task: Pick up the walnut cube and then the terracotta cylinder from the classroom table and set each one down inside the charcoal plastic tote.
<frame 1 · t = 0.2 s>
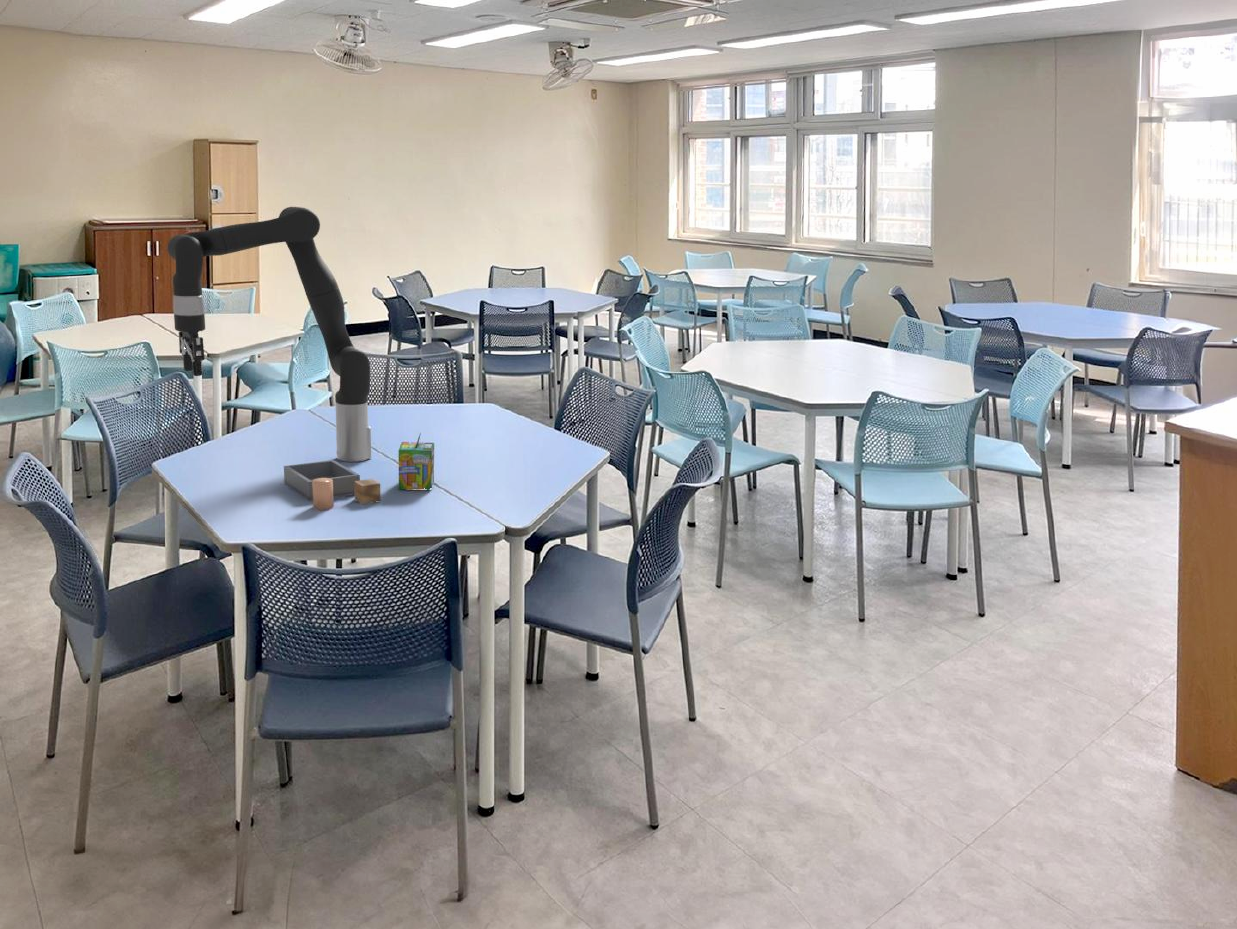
hand: (193, 373, 285), 29 cm above the table, tool pointing down, fingers open, 8 cm apart
charcoal tote: (321, 488, 287), on the table
walnut cube: (367, 500, 278), on the table
terracotta cylinder: (323, 507, 271), on the table
juice box: (416, 487, 293), on the table
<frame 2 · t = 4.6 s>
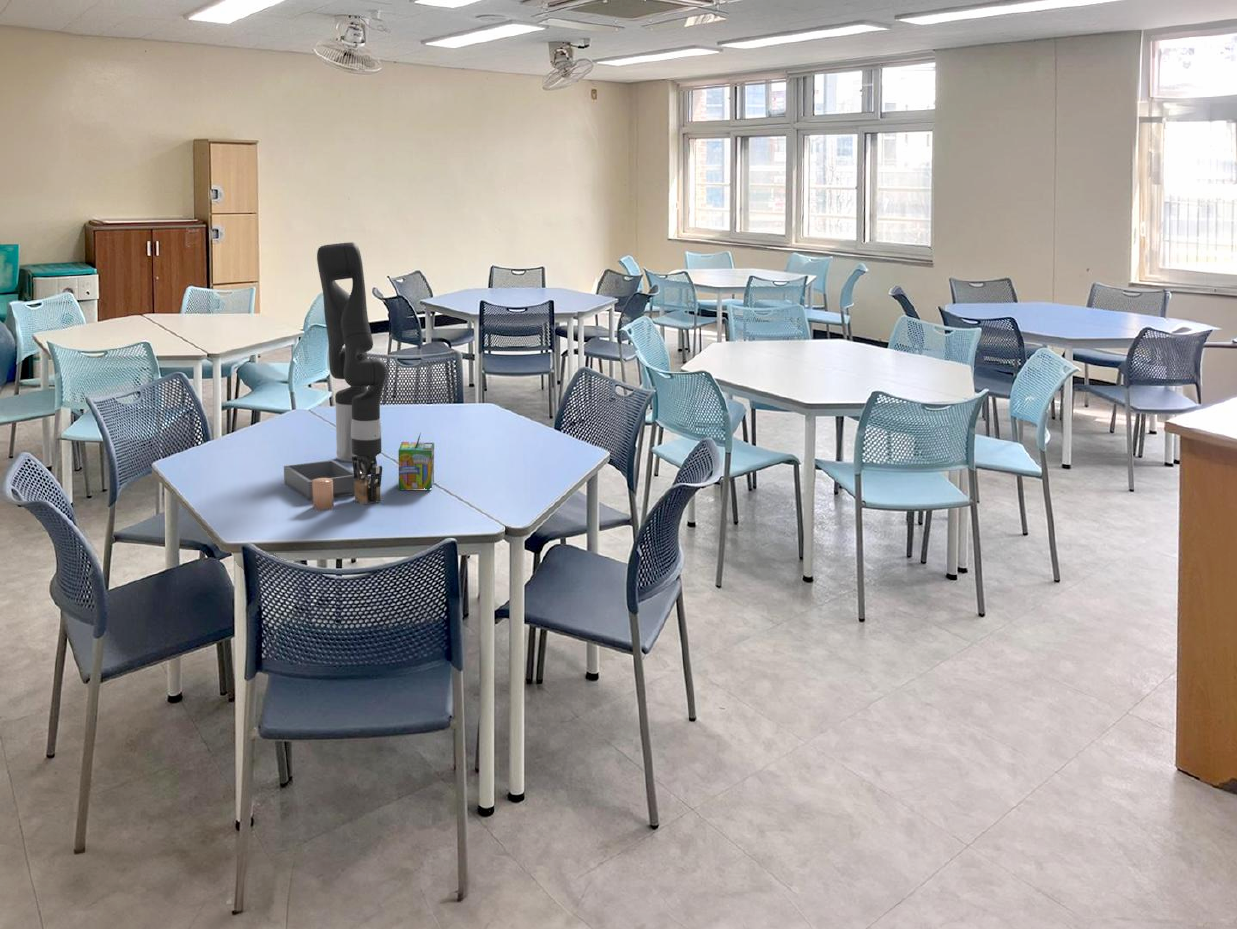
hand: (367, 498, 278), 0 cm above the table, tool pointing down, fingers closed on walnut cube, 5 cm apart
walnut cube: (367, 500, 278), on the table, touching gripper
everything else where it was.
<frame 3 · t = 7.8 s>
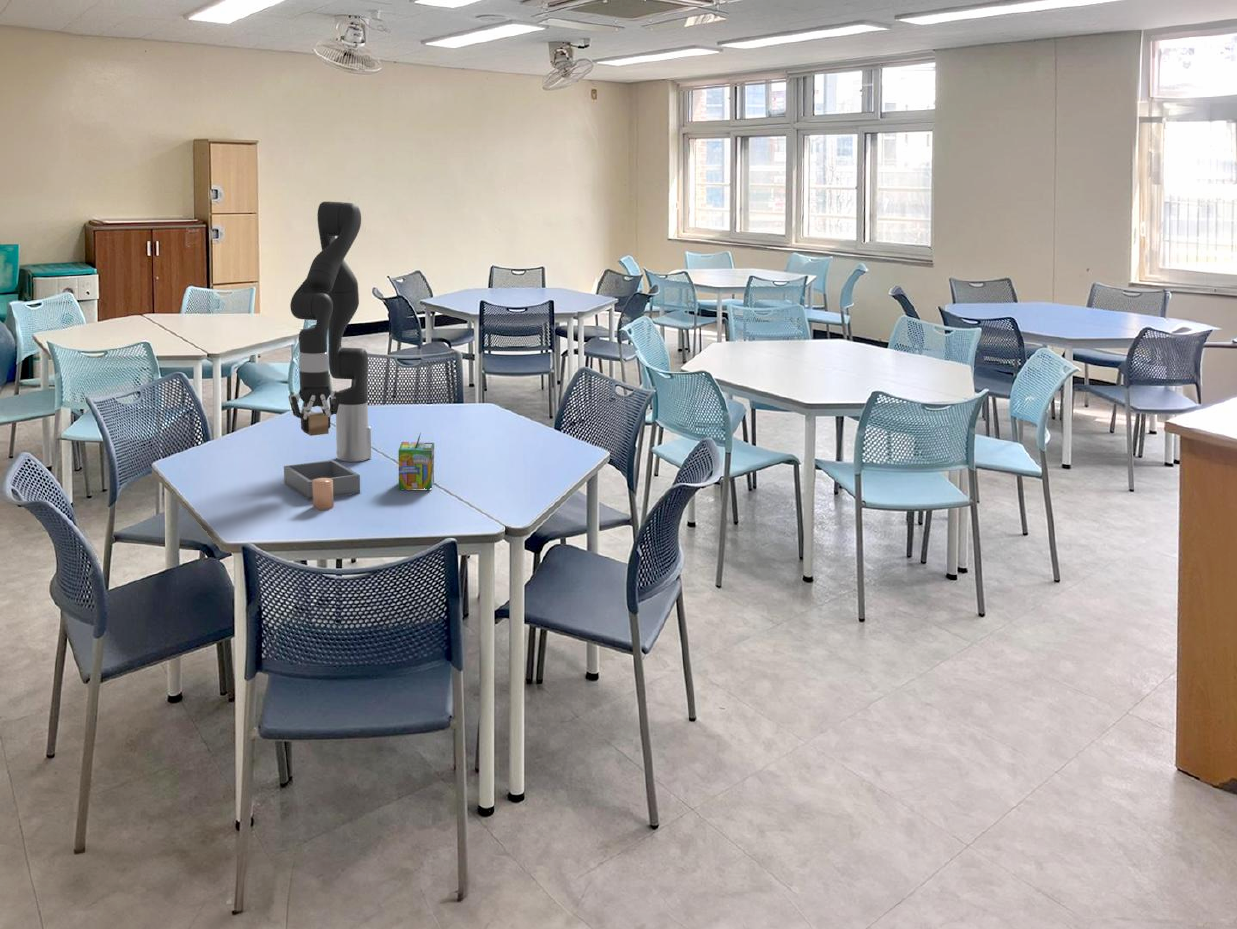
hand: (316, 430, 286), 15 cm above the table, tool pointing down, fingers closed on walnut cube, 5 cm apart
walnut cube: (316, 432, 286), point 15 cm above the table, touching gripper
everything else where it was.
when the fingers open (3 cm above the table, at t = 10.7 s): walnut cube drops 1 cm, resting on charcoal tote.
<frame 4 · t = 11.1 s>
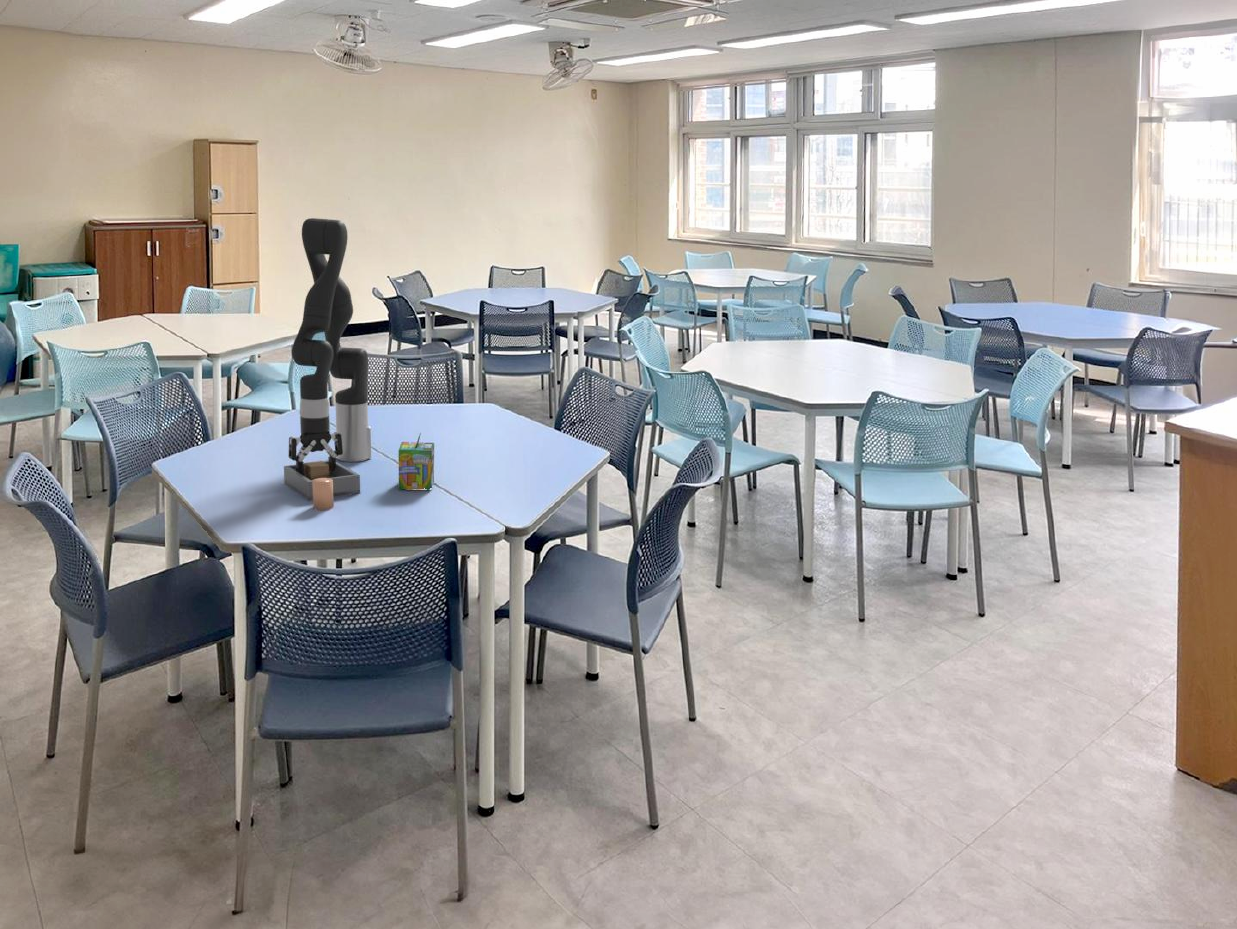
hand: (316, 472, 289), 4 cm above the table, tool pointing down, fingers open, 8 cm apart
walnut cube: (316, 481, 289), point 1 cm above the table, touching charcoal tote
everything else where it was.
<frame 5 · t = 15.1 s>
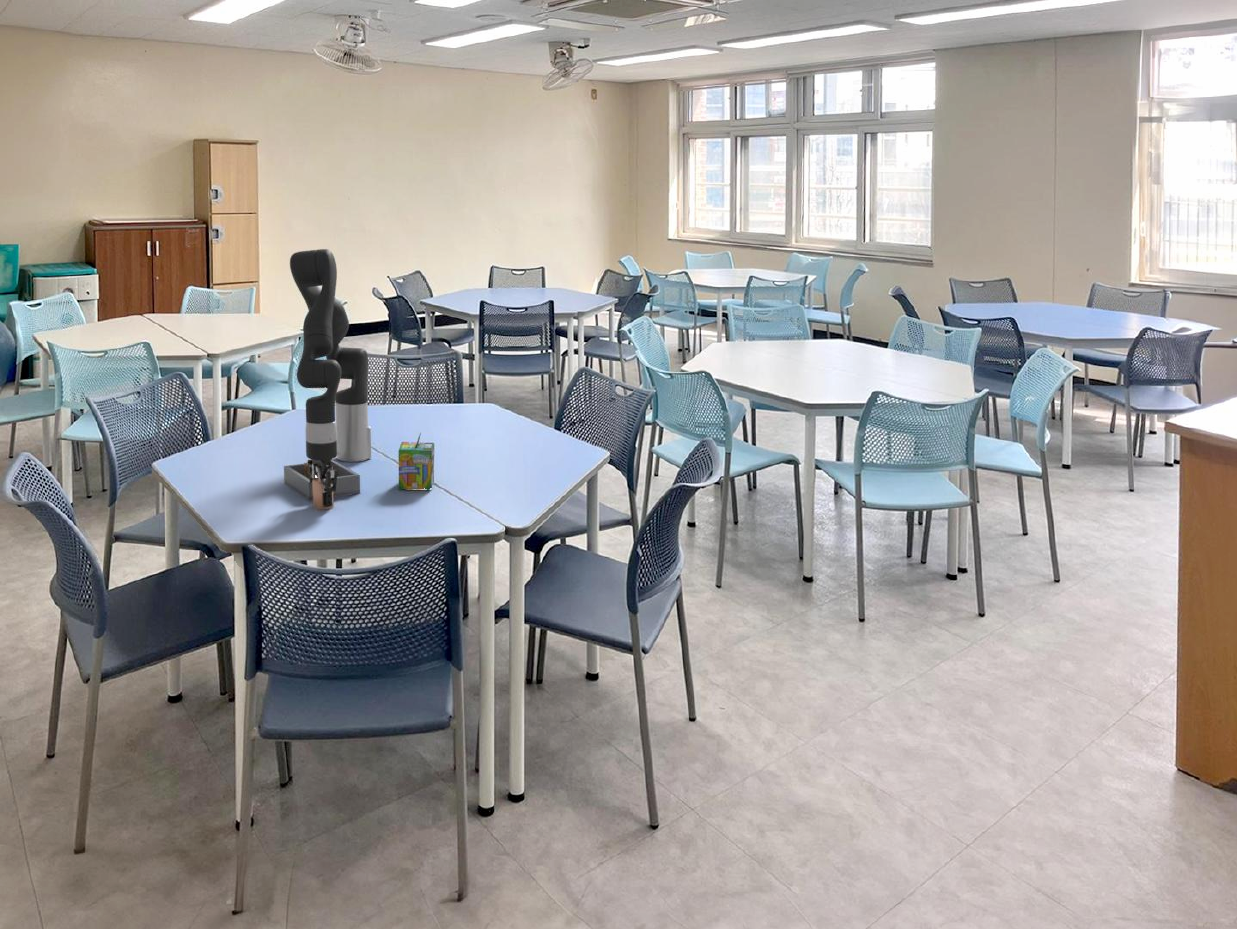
hand: (323, 503, 271), 1 cm above the table, tool pointing down, fingers closed on terracotta cylinder, 5 cm apart
terracotta cylinder: (323, 506, 271), on the table, touching gripper
everything else where it was.
when the fingers open (3 cm above the table, at t = 20.5 s): terracotta cylinder drops 1 cm, resting on charcoal tote.
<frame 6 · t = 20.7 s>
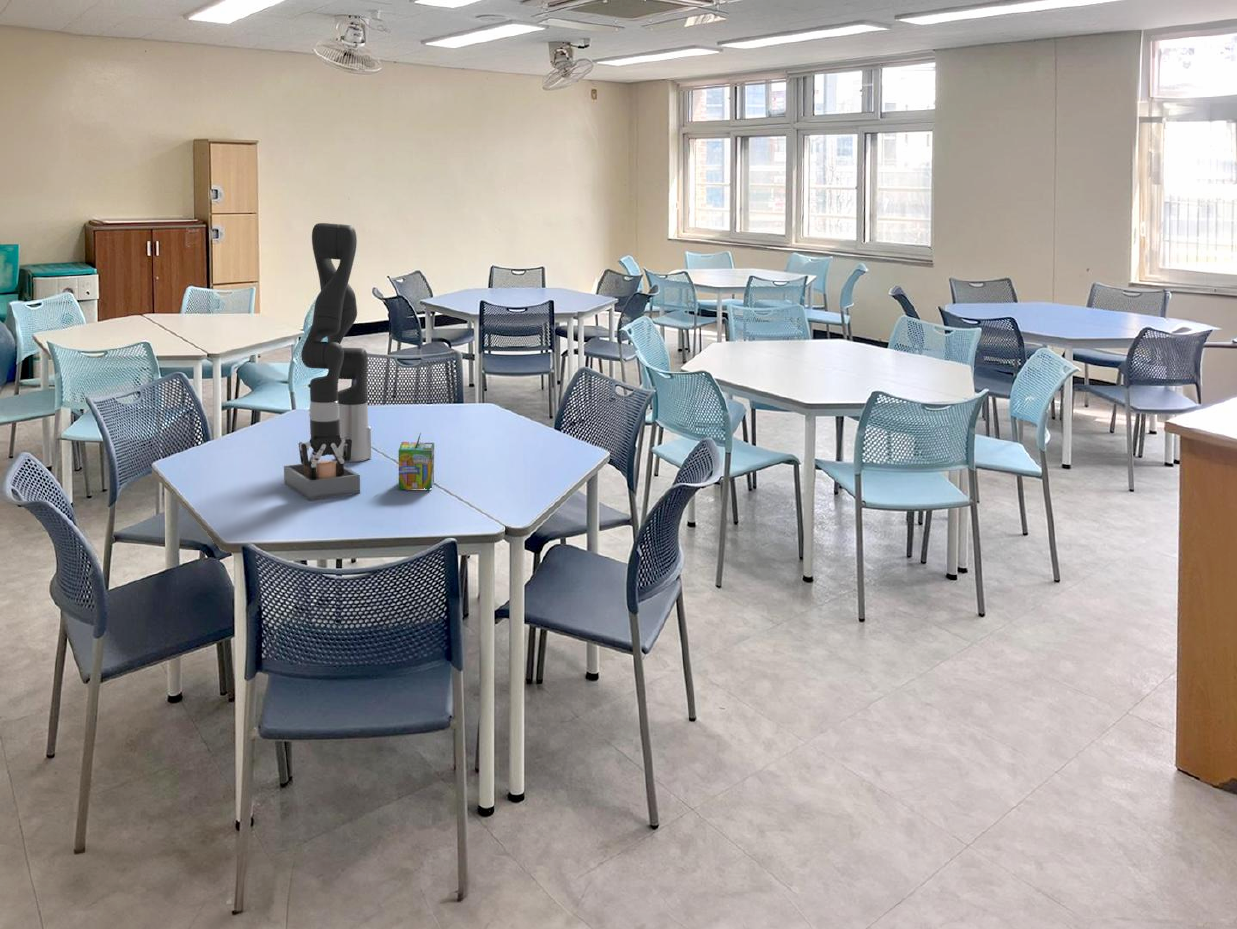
hand: (326, 478, 283), 4 cm above the table, tool pointing down, fingers open, 6 cm apart
terracotta cylinder: (326, 488, 284), point 1 cm above the table, touching charcoal tote
everything else where it was.
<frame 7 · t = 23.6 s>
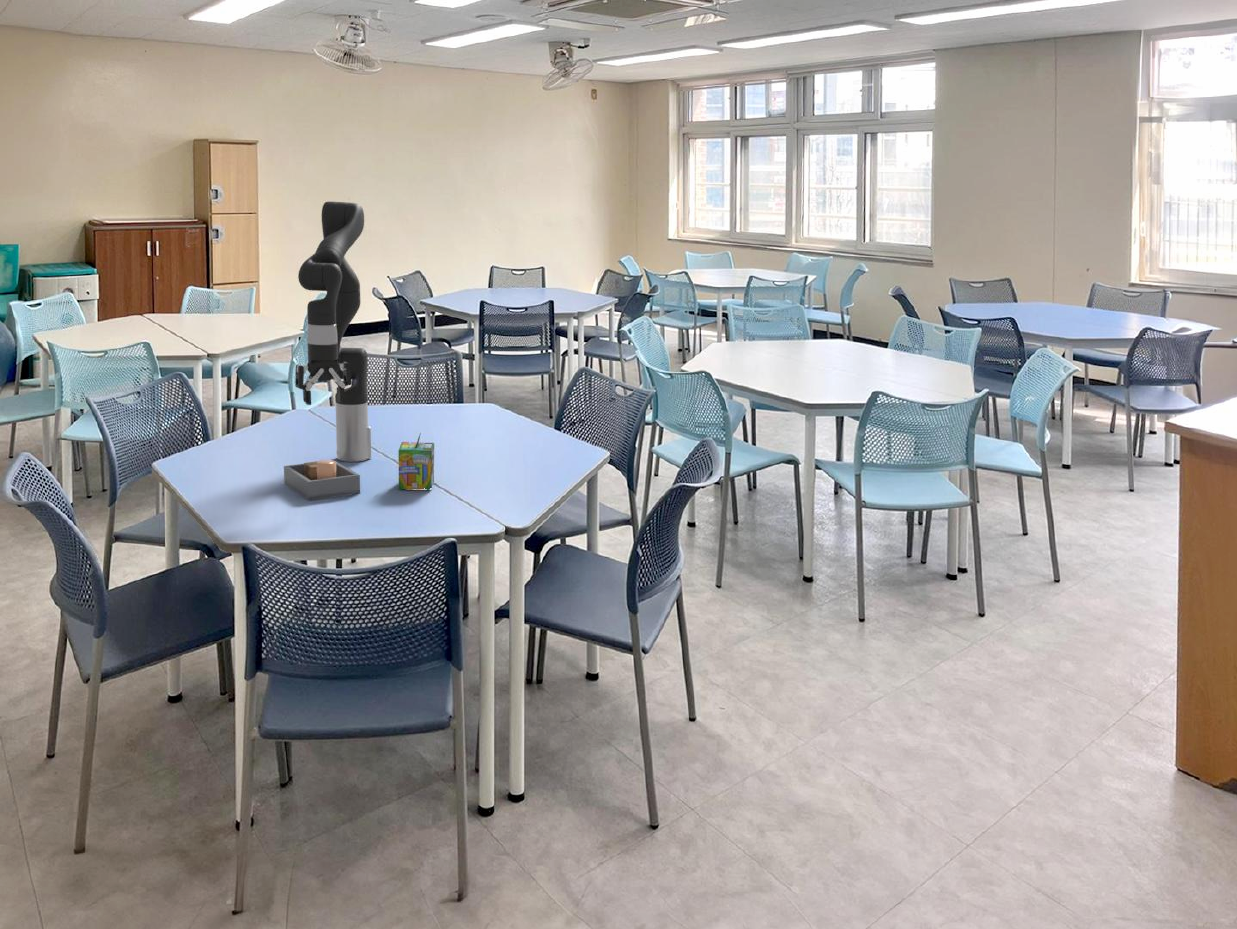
hand: (324, 403, 278), 24 cm above the table, tool pointing down, fingers open, 8 cm apart
nothing on the table moved.
at the end: walnut cube inside the target area on the charcoal tote (3.6 cm from its centre), point 1.0 cm above the charcoal tote's base; terracotta cylinder inside the target area on the charcoal tote (3.5 cm from its centre), point 1.1 cm above the charcoal tote's base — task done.
